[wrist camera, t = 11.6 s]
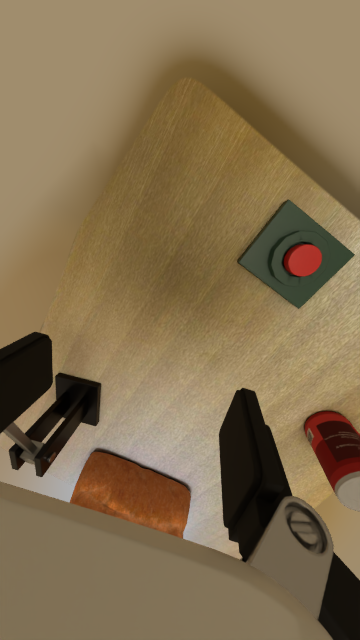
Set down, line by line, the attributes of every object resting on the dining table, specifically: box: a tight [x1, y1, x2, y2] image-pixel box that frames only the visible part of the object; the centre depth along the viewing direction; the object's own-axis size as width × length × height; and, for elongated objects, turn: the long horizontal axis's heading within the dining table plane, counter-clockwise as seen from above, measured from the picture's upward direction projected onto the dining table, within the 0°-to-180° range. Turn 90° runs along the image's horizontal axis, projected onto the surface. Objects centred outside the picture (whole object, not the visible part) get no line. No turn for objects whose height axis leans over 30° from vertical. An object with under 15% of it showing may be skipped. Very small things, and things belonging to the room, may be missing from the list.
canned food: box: [305, 411, 360, 511], centre depth 32 cm, size 8×8×11 cm
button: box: [284, 244, 322, 276], centre depth 24 cm, size 4×4×2 cm
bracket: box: [9, 373, 101, 477], centre depth 37 cm, size 11×9×14 cm
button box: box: [237, 200, 355, 309], centre depth 26 cm, size 11×9×4 cm
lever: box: [3, 422, 45, 464], centre depth 27 cm, size 18×5×2 cm, turn 169°
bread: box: [70, 451, 191, 539], centre depth 44 cm, size 14×26×16 cm, turn 67°
